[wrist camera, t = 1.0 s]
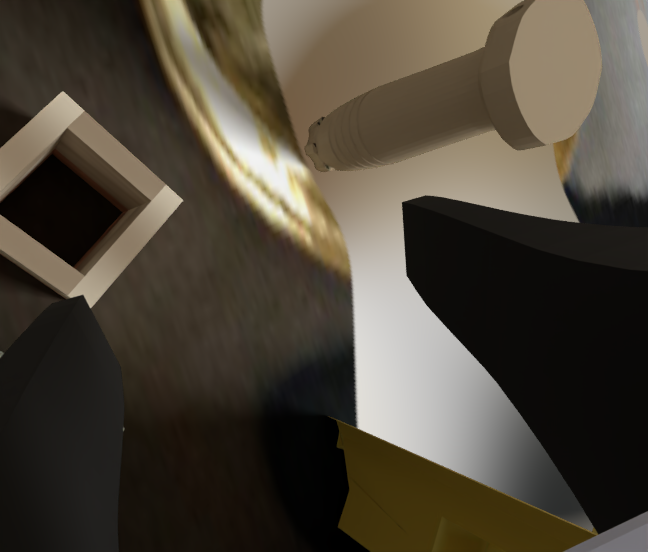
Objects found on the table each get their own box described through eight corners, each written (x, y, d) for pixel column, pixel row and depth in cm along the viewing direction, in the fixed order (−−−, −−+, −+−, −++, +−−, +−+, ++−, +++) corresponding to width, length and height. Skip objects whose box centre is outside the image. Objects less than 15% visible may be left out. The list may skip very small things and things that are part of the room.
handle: (266, 145, 27) (491, 47, 15) (333, 85, 30) (571, -39, 18) (314, 211, 29) (548, 172, 17) (373, 150, 32) (613, 77, 20)
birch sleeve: (70, 301, 22) (88, 310, 18) (-52, 218, 19) (-63, 205, 15) (149, 211, 24) (183, 200, 20) (48, 124, 21) (62, 91, 17)
